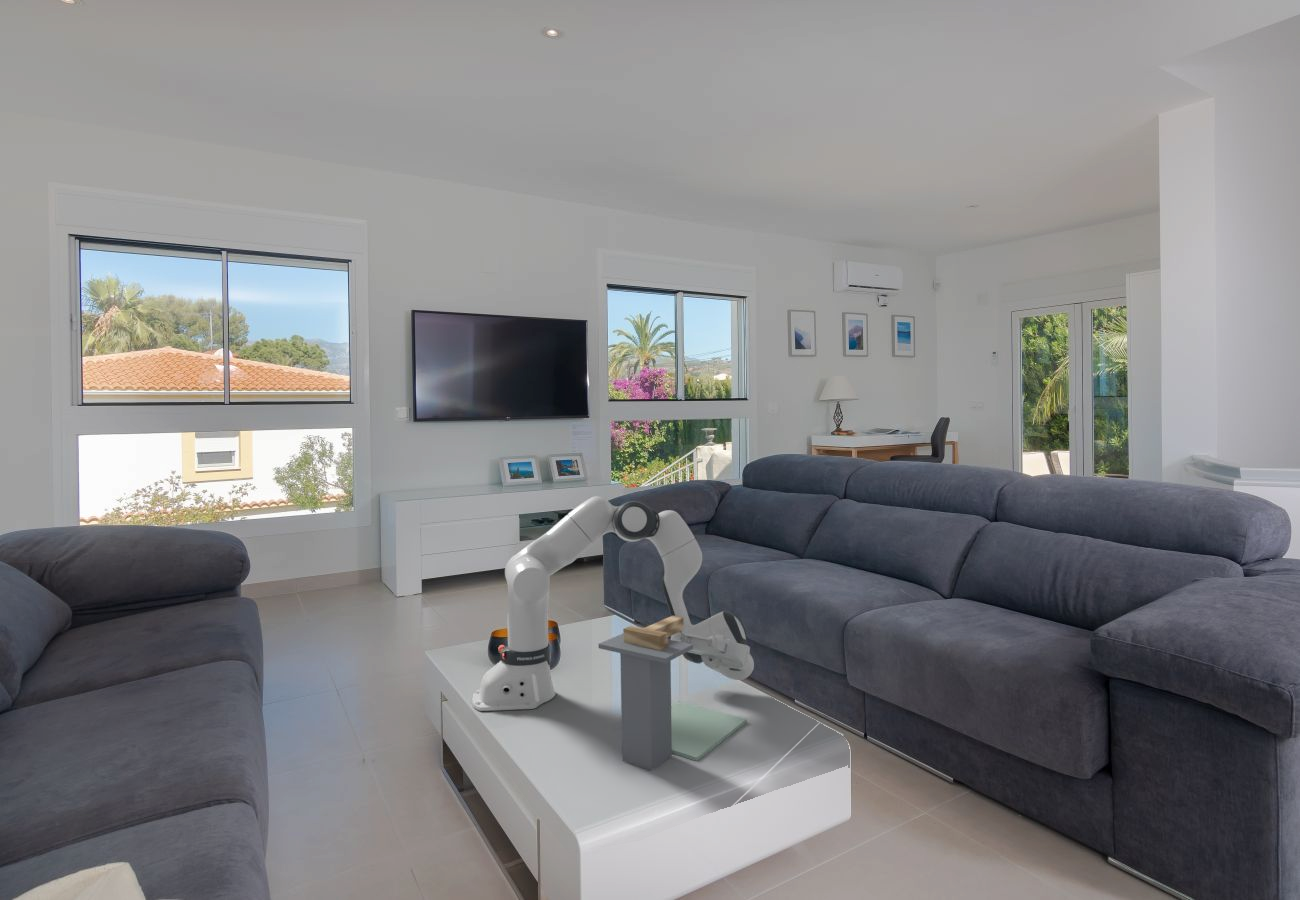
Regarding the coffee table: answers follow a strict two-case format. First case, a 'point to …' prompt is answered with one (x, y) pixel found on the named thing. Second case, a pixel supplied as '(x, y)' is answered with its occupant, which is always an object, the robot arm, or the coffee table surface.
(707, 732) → the mat
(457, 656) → the coffee table surface
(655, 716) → the stand
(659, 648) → the t bar
